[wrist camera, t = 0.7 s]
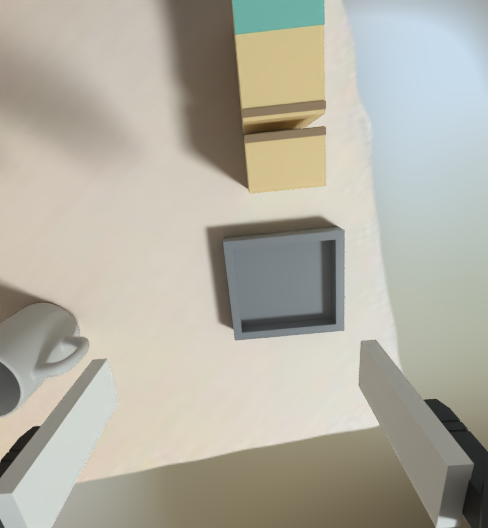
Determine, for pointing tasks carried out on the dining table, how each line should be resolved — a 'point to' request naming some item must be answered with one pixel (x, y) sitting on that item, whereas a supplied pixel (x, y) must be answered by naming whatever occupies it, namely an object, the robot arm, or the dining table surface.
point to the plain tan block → (285, 159)
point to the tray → (286, 282)
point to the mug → (36, 351)
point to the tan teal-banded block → (279, 63)
